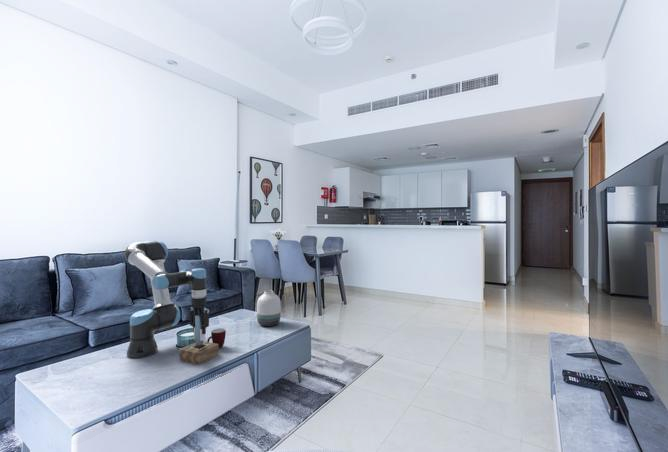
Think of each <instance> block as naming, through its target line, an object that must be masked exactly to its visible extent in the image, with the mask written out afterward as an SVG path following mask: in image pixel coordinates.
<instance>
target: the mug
mask: <svg viewBox="0 0 668 452" xmlns="http://www.w3.org/2000/svg"><path fill="white" fill-rule="evenodd" d="M210 332H211V333H210V335H211V336H209V337H208V338H207V341H206V342H210V340H211V343H216V344H219V349H222V348H223V347H224V344H225V340H226V334H227V333H226V328H222V327H221V328H214V329H212V330H211V331H210Z"/></svg>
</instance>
